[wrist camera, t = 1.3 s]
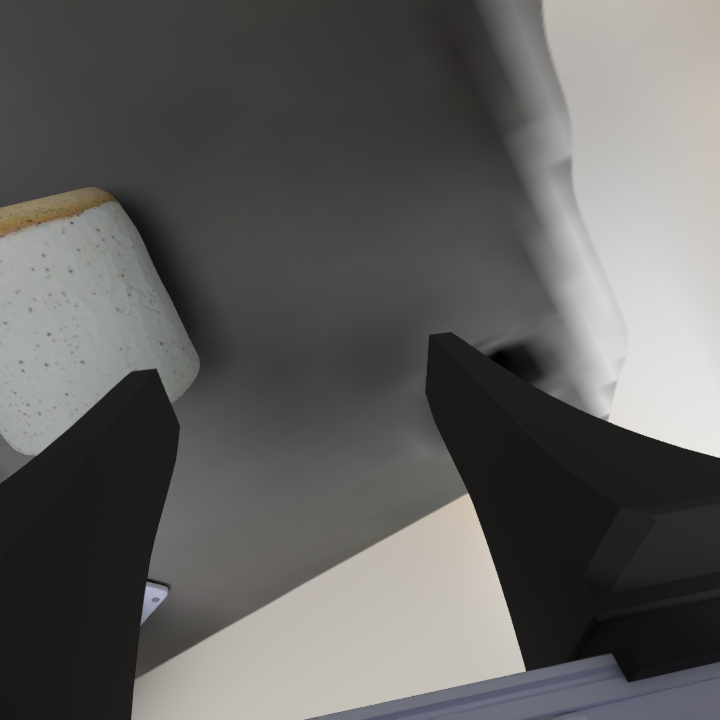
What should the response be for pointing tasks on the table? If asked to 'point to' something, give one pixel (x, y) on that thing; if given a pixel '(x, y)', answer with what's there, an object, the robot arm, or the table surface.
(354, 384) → the table surface
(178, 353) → the ceramic mug
